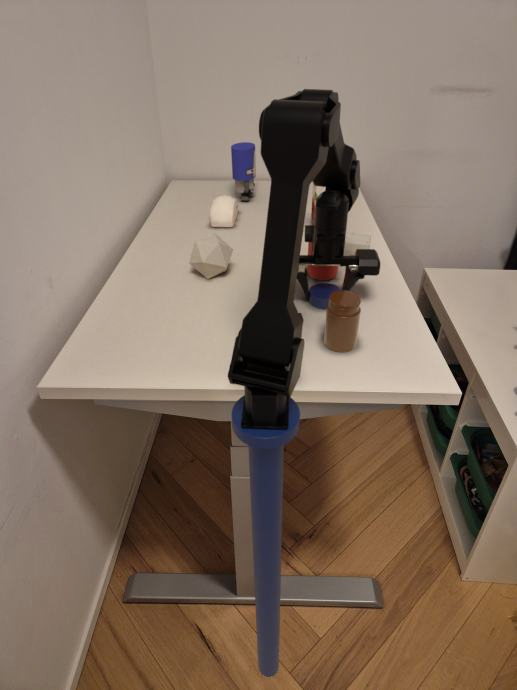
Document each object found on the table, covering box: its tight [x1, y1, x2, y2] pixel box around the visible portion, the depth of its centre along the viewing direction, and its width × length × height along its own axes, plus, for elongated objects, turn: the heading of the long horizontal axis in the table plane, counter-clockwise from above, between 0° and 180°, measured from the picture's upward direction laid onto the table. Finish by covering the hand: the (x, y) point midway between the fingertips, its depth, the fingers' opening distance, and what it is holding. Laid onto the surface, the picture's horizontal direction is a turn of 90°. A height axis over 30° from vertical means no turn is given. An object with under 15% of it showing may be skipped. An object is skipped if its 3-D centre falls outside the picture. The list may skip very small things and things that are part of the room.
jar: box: [323, 289, 362, 353], centre depth 78 cm, size 6×6×9 cm
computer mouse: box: [209, 195, 239, 228], centre depth 126 cm, size 6×13×6 cm, turn 175°
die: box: [188, 232, 234, 280], centre depth 100 cm, size 8×9×10 cm
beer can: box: [307, 219, 339, 281], centre depth 98 cm, size 7×7×12 cm
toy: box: [230, 141, 257, 201], centre depth 137 cm, size 9×7×15 cm
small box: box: [344, 232, 372, 256], centre depth 106 cm, size 6×6×5 cm
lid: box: [308, 282, 342, 310], centre depth 92 cm, size 6×6×2 cm
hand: (324, 300), depth 92 cm, fingers closed on lid, 6 cm apart
